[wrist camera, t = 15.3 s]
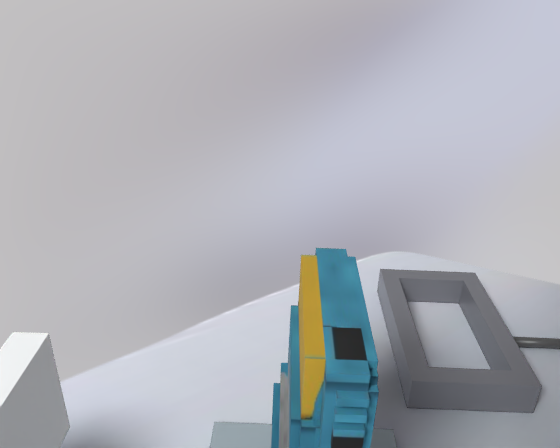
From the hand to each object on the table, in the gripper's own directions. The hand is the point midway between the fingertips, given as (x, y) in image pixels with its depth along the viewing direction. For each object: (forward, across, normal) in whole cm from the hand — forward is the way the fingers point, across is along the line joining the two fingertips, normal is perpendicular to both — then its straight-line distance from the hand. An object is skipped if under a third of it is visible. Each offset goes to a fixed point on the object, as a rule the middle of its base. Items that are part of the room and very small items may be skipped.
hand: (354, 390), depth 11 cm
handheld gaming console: (+10, 0, -20) cm, 22 cm away
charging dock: (+27, +16, -20) cm, 37 cm away
